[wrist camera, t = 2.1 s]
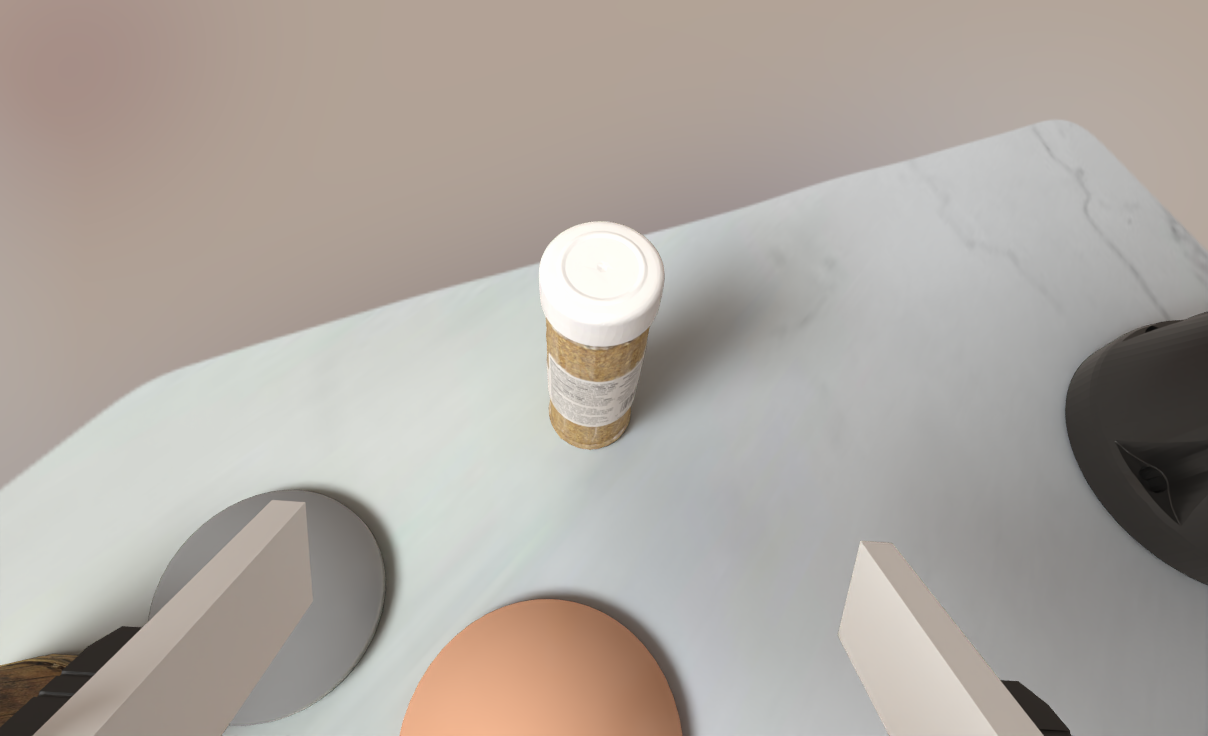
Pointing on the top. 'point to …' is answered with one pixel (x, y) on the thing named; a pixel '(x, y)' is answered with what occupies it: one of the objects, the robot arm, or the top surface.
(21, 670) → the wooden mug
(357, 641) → the slate coaster
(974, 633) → the top surface
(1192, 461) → the robot arm
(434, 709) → the terracotta coaster
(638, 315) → the sprinkles bottle
